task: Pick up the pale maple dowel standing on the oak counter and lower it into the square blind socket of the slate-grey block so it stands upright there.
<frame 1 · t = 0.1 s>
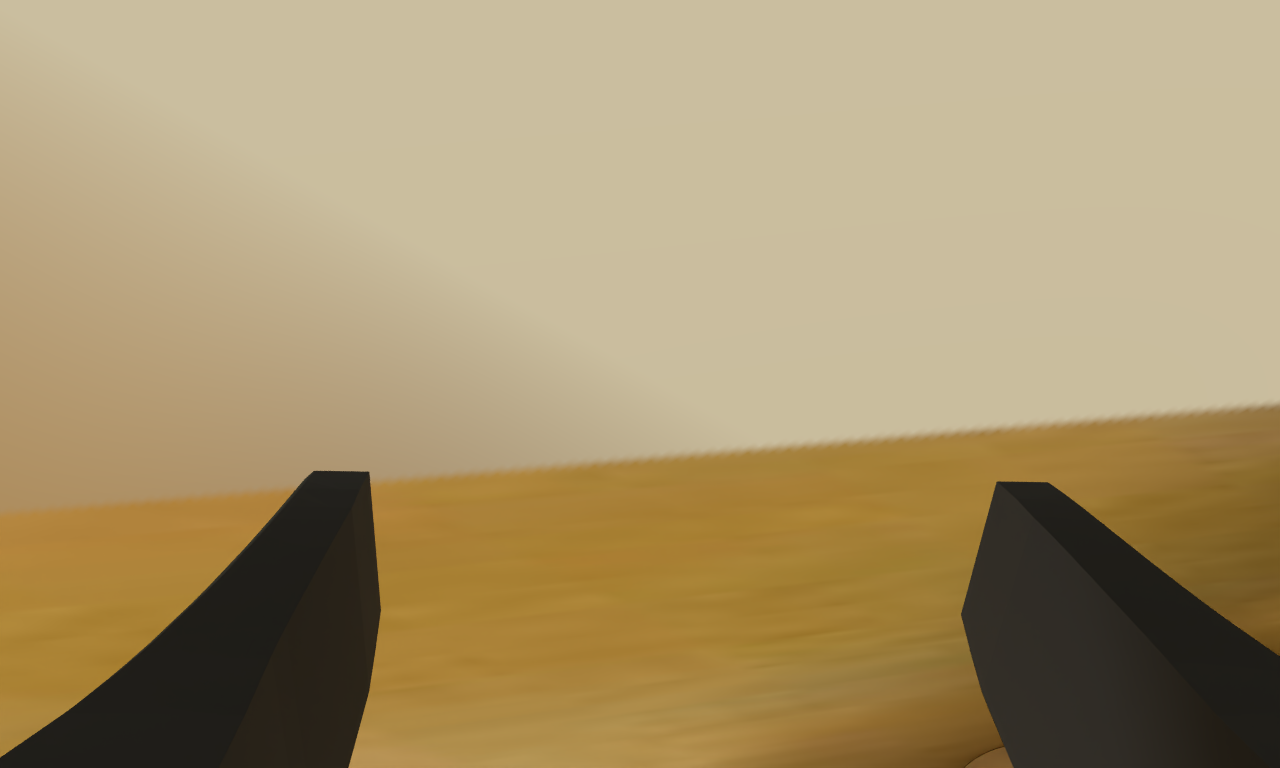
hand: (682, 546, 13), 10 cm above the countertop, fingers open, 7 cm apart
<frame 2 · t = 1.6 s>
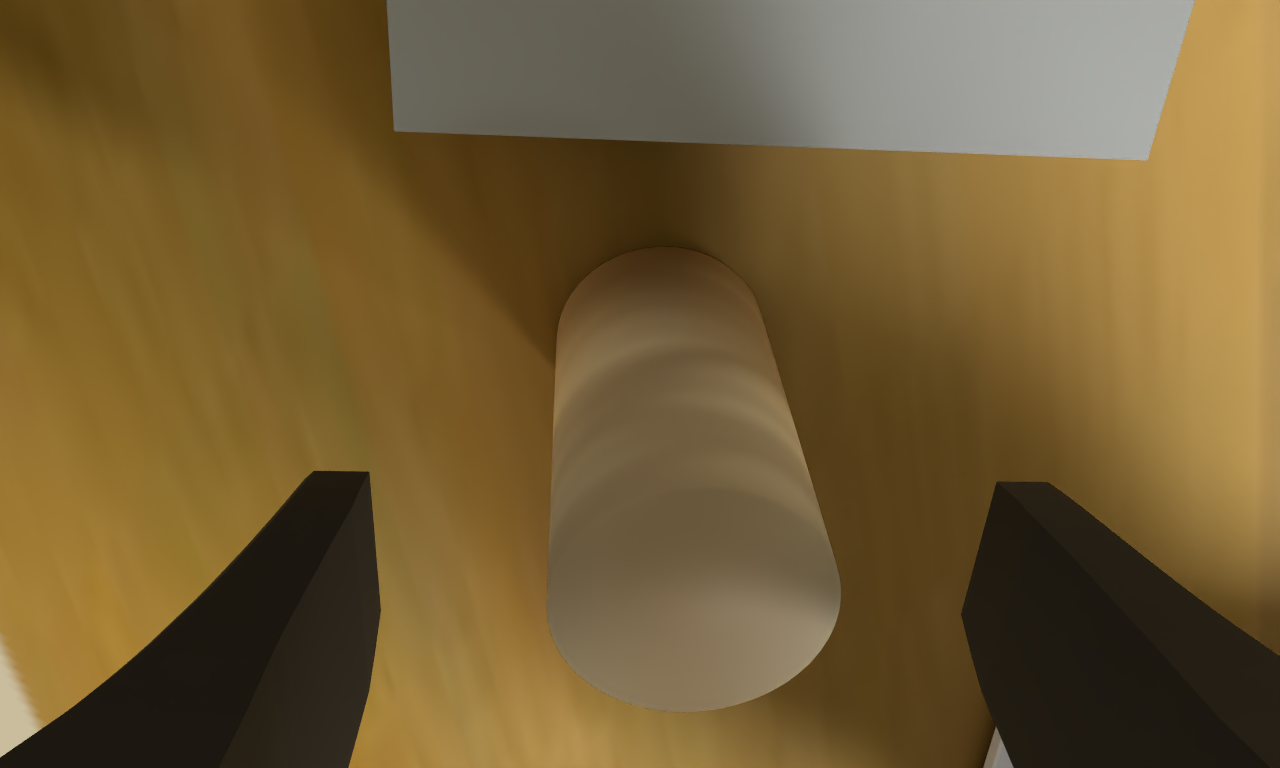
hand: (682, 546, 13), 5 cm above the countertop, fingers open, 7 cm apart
maple pin: (660, 342, 17), on the countertop
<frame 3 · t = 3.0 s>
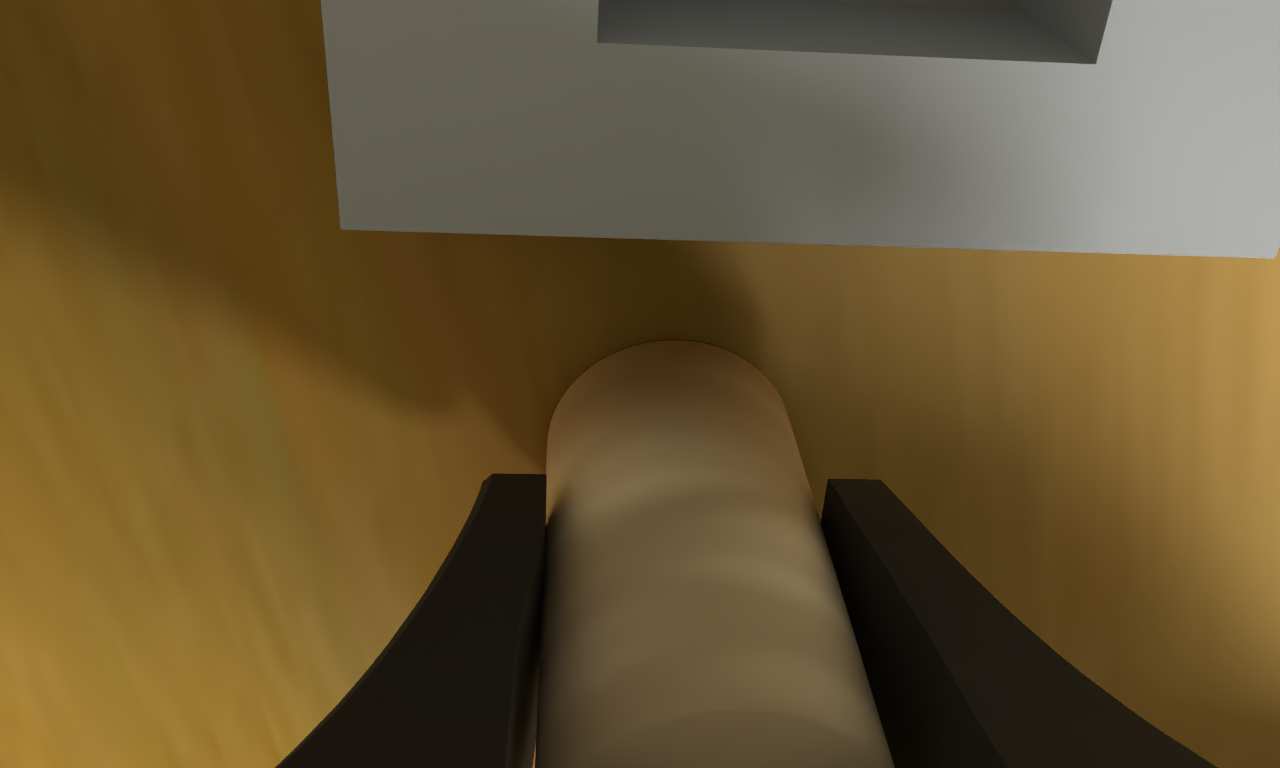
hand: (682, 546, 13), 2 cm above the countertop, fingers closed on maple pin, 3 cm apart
maple pin: (669, 447, 15), on the countertop, touching gripper
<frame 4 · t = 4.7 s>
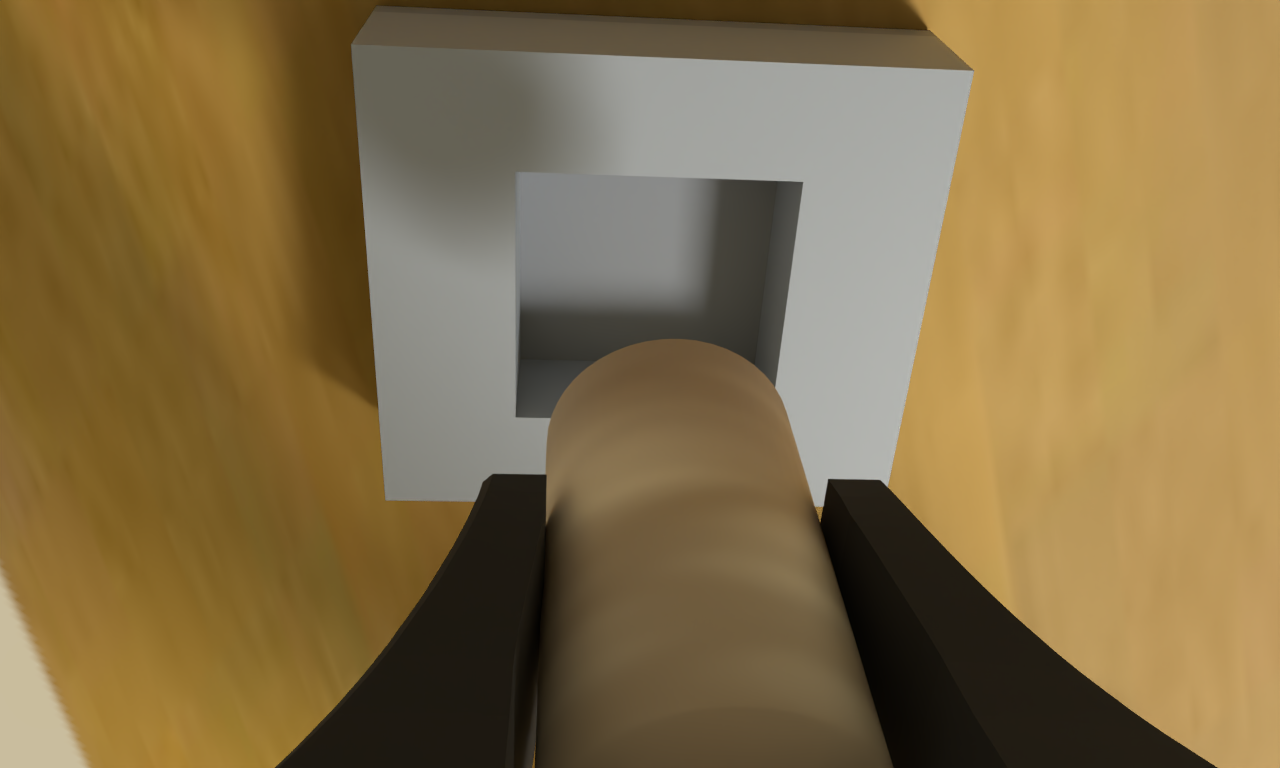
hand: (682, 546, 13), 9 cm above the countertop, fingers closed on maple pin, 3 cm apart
hole block: (643, 245, 20), on the countertop
maple pin: (668, 445, 15), point 6 cm above the countertop, touching gripper
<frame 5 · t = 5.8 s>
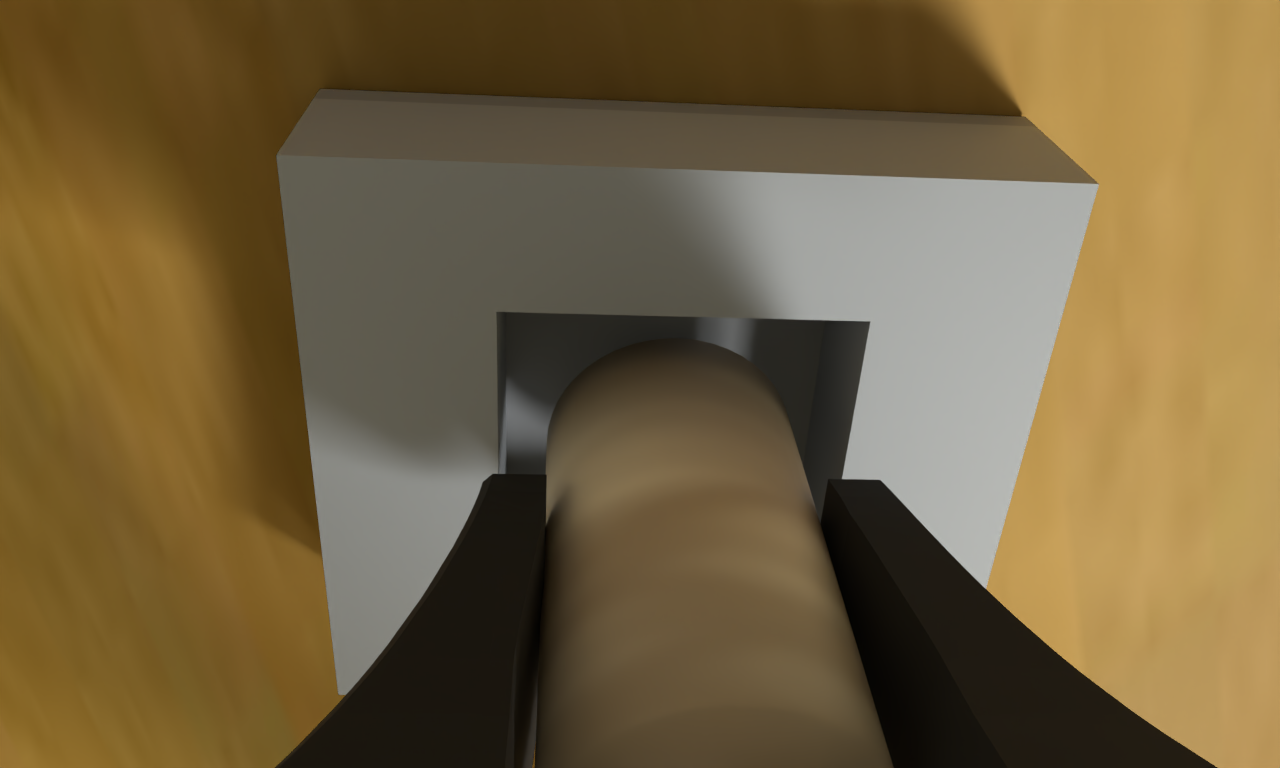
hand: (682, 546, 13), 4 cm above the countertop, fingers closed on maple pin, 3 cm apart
hole block: (660, 374, 16), on the countertop
maple pin: (668, 444, 15), point 2 cm above the countertop, touching gripper
when the fingers open (4 cm above the countertop, at t = 6.4 s): maple pin drops 1 cm, resting on hole block.
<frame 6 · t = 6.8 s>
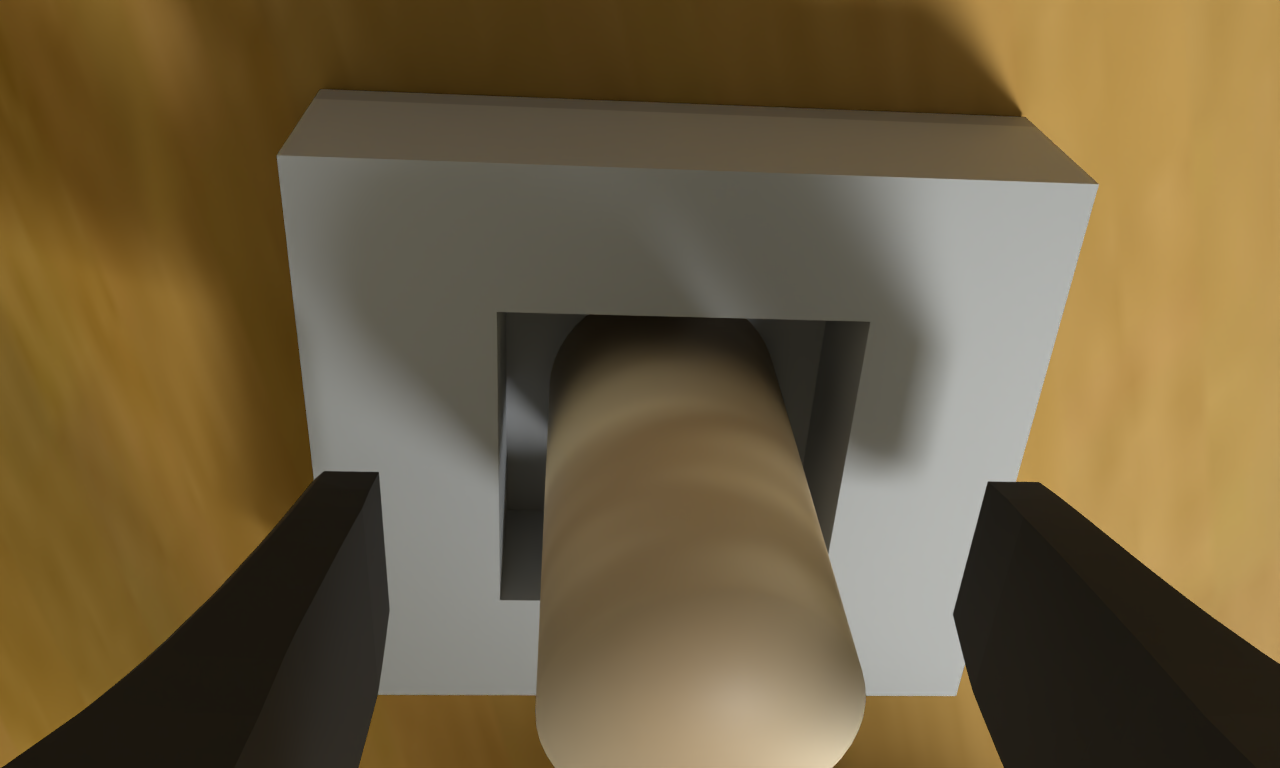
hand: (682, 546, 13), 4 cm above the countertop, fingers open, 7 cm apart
hole block: (660, 374, 16), on the countertop
maple pin: (662, 389, 16), resting on hole block
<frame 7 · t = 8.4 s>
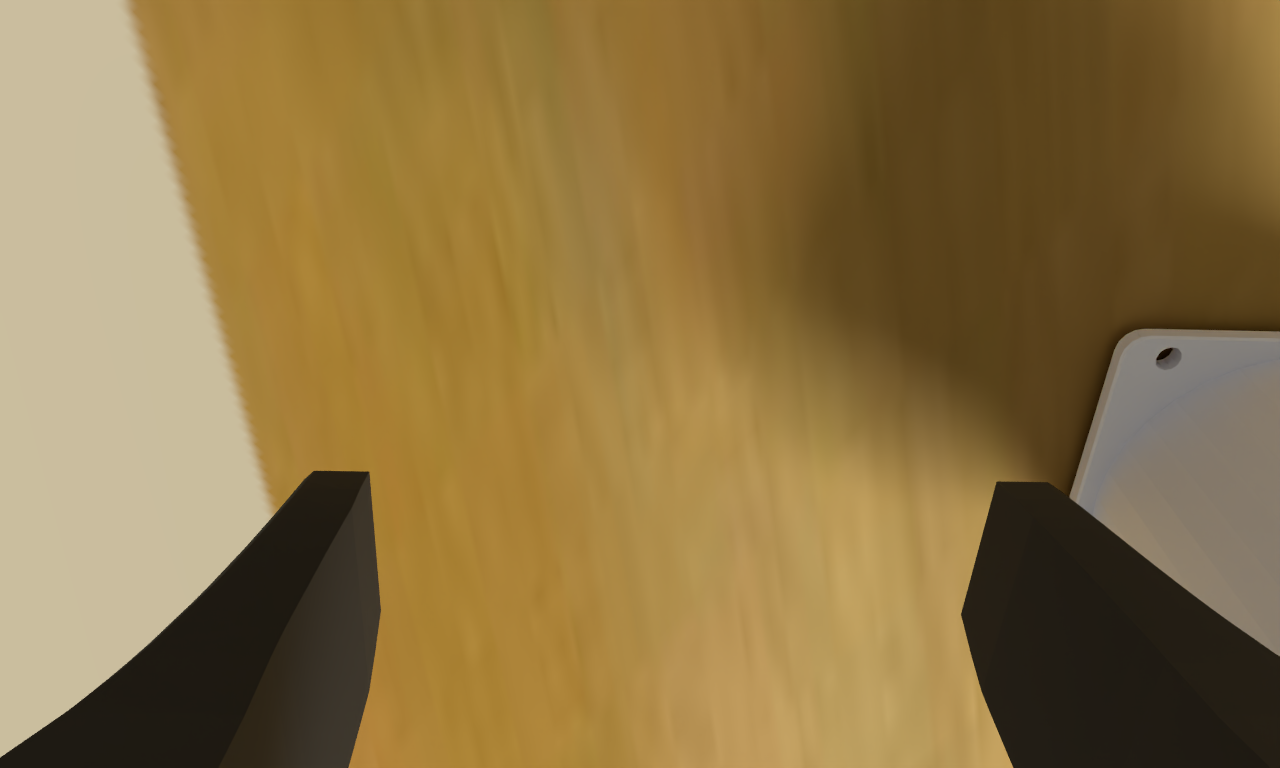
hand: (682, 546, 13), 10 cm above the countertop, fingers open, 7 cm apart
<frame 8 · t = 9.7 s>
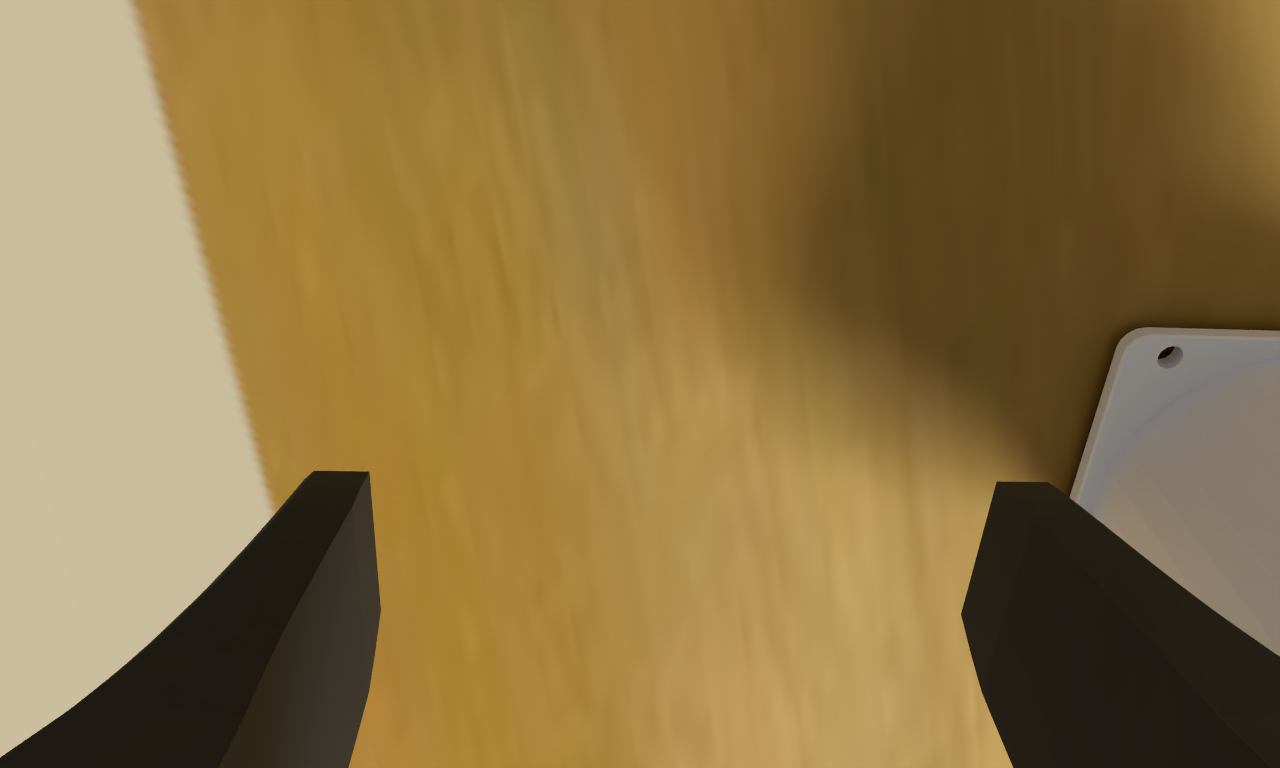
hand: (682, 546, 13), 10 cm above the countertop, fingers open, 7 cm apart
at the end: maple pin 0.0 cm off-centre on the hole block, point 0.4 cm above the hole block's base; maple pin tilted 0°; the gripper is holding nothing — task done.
